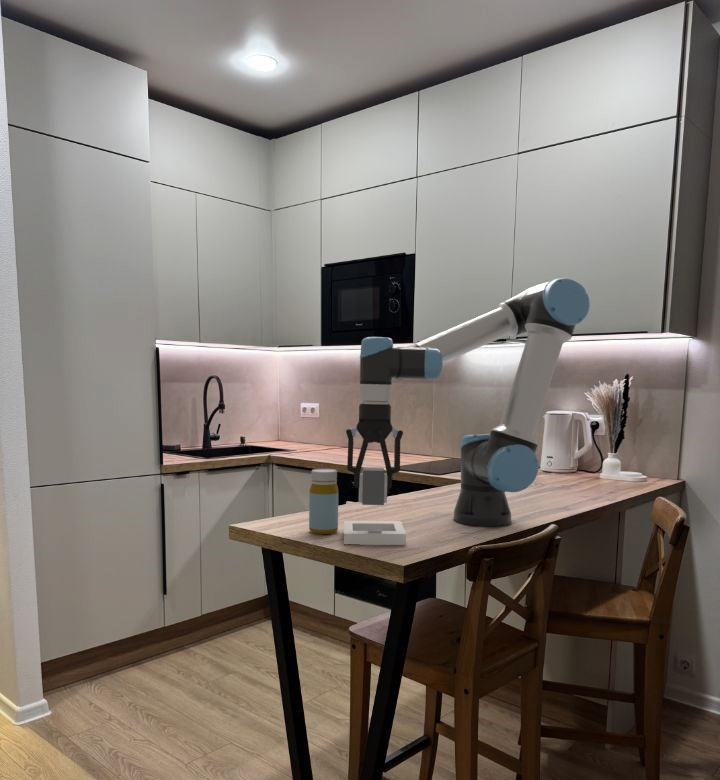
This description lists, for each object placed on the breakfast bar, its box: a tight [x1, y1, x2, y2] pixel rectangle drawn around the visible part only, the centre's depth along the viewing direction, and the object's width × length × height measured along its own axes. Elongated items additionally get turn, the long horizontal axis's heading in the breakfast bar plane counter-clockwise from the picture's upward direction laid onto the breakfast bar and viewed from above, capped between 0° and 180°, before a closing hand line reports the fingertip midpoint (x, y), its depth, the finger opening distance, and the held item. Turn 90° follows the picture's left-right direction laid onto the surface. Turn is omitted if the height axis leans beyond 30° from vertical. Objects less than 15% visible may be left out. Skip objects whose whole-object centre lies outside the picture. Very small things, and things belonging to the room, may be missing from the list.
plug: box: [361, 466, 386, 506], centre depth 146 cm, size 5×5×8 cm
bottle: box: [308, 468, 339, 535], centre depth 151 cm, size 7×7×15 cm
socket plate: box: [343, 520, 407, 546], centre depth 146 cm, size 14×13×3 cm
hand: (372, 501), depth 146 cm, fingers closed on plug, 5 cm apart
